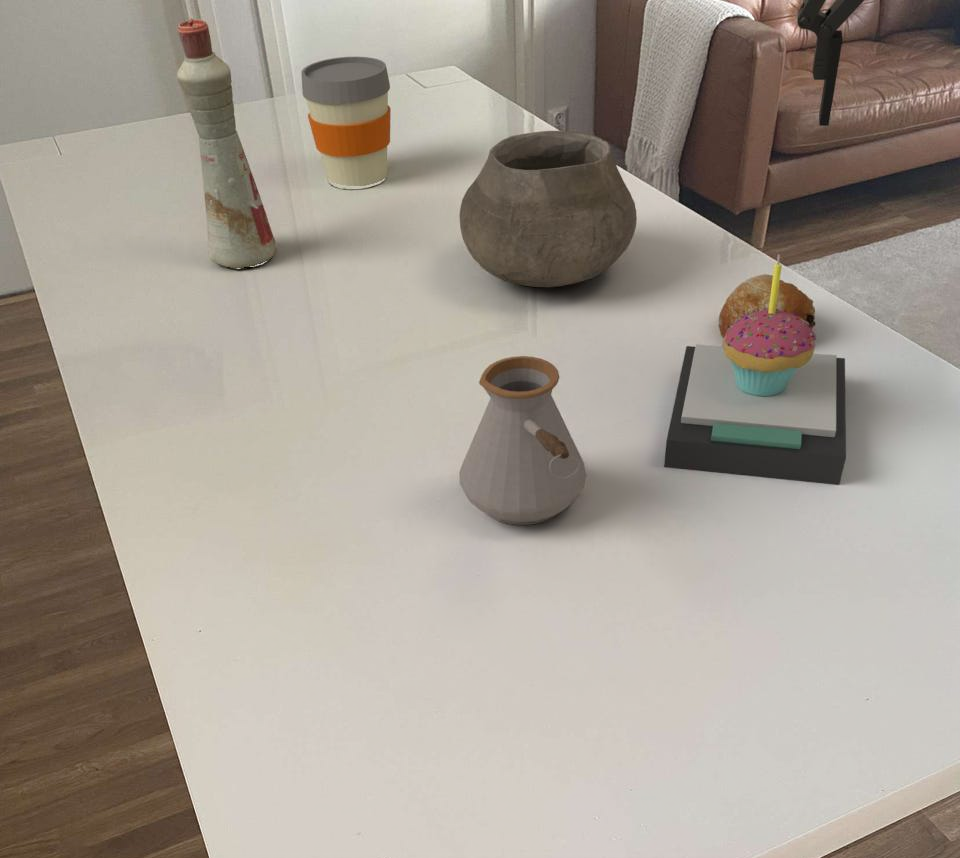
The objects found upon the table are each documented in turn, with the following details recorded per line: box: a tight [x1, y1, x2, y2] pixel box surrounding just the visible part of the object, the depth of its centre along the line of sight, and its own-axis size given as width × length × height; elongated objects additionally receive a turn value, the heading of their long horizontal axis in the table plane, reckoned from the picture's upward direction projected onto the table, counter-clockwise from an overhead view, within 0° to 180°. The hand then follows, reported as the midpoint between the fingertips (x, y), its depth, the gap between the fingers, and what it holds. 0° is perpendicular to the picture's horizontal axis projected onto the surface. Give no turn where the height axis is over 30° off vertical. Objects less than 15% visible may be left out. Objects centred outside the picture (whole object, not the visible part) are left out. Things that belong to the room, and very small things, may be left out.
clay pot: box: [459, 130, 638, 288], centre depth 121 cm, size 22×21×15 cm
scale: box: [663, 344, 847, 485], centre depth 99 cm, size 16×18×4 cm
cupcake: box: [722, 254, 818, 396], centre depth 94 cm, size 9×8×12 cm
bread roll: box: [718, 273, 816, 339], centre depth 112 cm, size 10×10×8 cm
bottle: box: [176, 17, 277, 269], centre depth 124 cm, size 9×9×28 cm
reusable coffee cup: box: [300, 56, 391, 186], centre depth 147 cm, size 13×13×15 cm
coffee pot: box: [459, 355, 587, 526], centre depth 84 cm, size 21×12×15 cm, turn 11°
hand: (907, 121), depth 85 cm, fingers open, 13 cm apart
